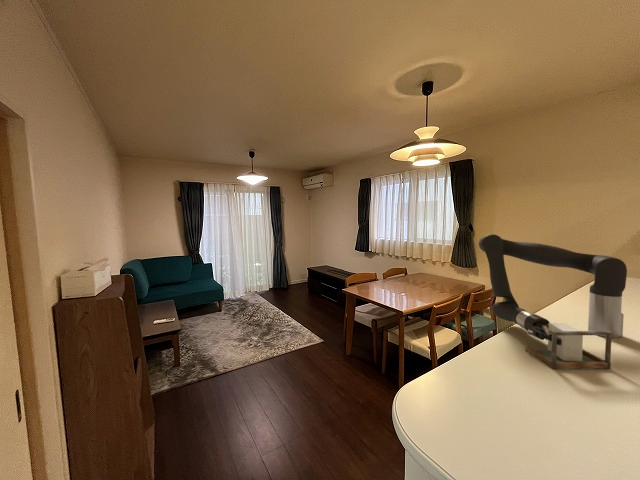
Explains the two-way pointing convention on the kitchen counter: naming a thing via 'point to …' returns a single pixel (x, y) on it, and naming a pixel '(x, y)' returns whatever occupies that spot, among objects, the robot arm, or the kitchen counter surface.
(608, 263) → the robot arm
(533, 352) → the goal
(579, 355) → the small box
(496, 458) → the kitchen counter surface
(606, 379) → the kitchen counter surface
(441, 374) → the kitchen counter surface
